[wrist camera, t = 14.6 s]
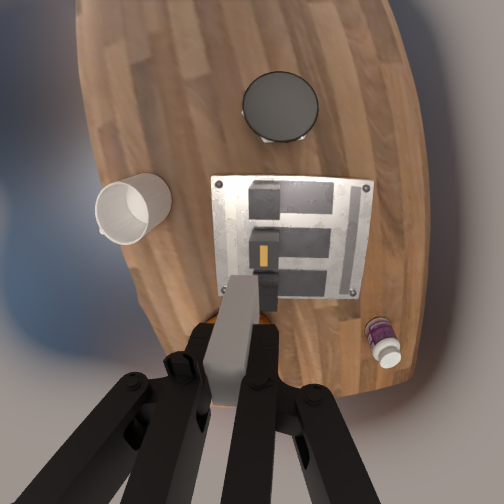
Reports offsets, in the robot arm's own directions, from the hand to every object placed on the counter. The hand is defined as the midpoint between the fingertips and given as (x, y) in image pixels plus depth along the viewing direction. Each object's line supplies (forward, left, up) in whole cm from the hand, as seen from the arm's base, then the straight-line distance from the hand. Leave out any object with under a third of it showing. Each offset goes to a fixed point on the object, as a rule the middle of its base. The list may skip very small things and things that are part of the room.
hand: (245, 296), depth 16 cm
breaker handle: (+7, 0, -27) cm, 27 cm away
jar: (-12, +2, -29) cm, 32 cm away
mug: (+1, -21, -29) cm, 36 cm away
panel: (+7, +4, -29) cm, 30 cm away
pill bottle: (+25, +22, -29) cm, 44 cm away
